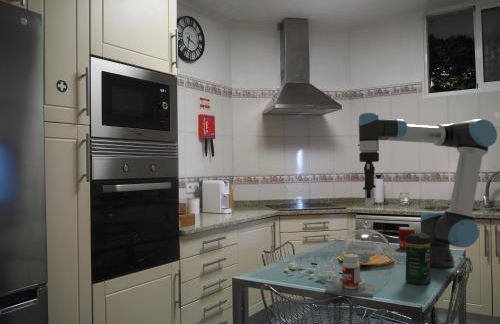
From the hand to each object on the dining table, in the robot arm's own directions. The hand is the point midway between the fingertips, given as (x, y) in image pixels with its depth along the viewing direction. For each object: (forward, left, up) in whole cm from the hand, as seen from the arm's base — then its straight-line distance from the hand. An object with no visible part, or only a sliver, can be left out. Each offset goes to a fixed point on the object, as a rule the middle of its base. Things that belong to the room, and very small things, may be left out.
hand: (370, 205), depth 160 cm
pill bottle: (+6, +19, -28) cm, 34 cm away
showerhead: (+4, -19, -29) cm, 35 cm away
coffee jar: (-17, +1, -29) cm, 34 cm away
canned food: (-15, -66, -29) cm, 74 cm away
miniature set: (+22, +3, -29) cm, 36 cm away
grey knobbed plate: (+6, +19, -29) cm, 35 cm away
